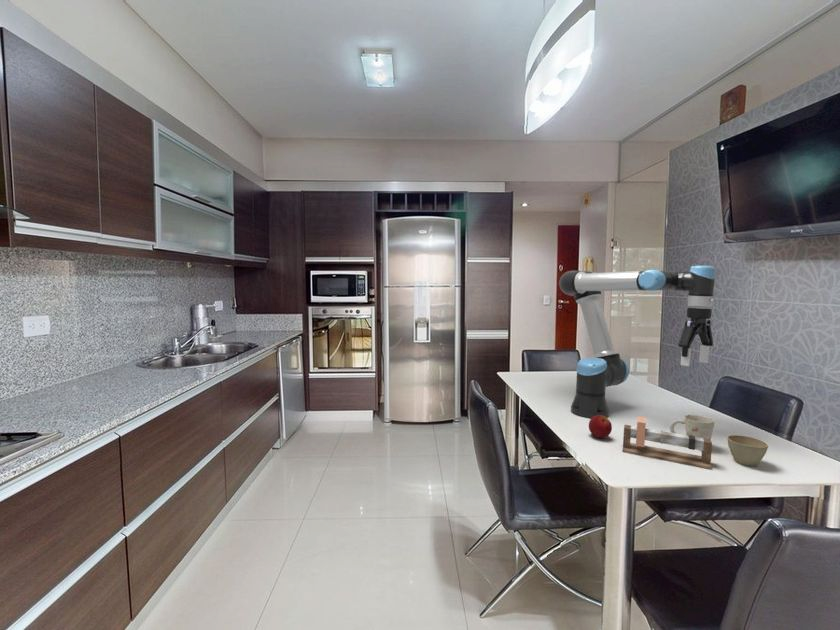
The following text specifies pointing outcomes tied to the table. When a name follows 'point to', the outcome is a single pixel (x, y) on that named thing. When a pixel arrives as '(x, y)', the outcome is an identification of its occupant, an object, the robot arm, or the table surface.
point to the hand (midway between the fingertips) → (694, 364)
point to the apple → (600, 426)
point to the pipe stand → (670, 439)
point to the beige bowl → (746, 449)
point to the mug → (696, 426)
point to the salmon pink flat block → (640, 431)
